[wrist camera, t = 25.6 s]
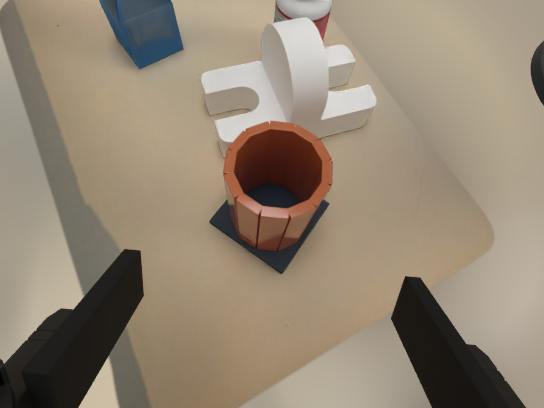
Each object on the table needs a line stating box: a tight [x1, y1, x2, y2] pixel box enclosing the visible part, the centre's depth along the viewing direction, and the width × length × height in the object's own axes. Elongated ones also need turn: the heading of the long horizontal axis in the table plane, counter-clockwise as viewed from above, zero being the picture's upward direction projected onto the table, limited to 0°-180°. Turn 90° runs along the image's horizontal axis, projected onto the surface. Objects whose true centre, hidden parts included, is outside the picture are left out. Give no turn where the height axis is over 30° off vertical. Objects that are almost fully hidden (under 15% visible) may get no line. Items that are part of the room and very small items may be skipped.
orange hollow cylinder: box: [223, 121, 332, 251], centre depth 27 cm, size 8×8×10 cm
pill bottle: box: [274, 0, 332, 40], centre depth 36 cm, size 6×6×11 cm
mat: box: [209, 184, 329, 274], centre depth 32 cm, size 9×9×1 cm
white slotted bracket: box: [201, 17, 377, 158], centre depth 33 cm, size 10×18×11 cm, turn 109°
